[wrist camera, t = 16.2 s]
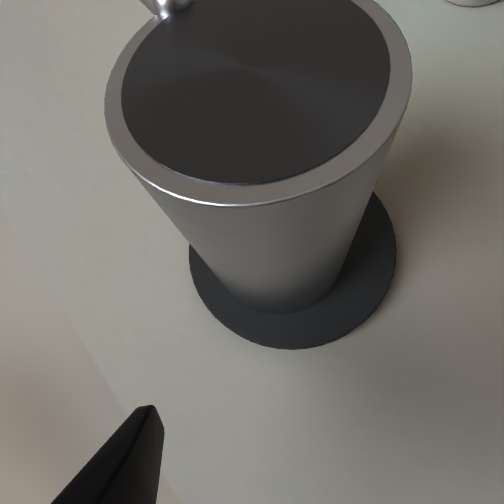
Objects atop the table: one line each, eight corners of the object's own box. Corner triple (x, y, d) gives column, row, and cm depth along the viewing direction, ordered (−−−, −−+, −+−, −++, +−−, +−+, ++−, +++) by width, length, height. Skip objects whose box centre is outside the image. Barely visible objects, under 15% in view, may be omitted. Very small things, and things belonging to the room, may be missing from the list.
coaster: (338, 394, 14) (340, 395, 13) (156, 286, 17) (149, 282, 16) (423, 207, 16) (429, 199, 15) (252, 141, 19) (250, 132, 18)
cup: (369, 261, 15) (508, 42, 5) (265, 342, 14) (193, 268, 4) (256, 143, 18) (207, -129, 8) (166, 204, 17) (-1, -14, 8)
